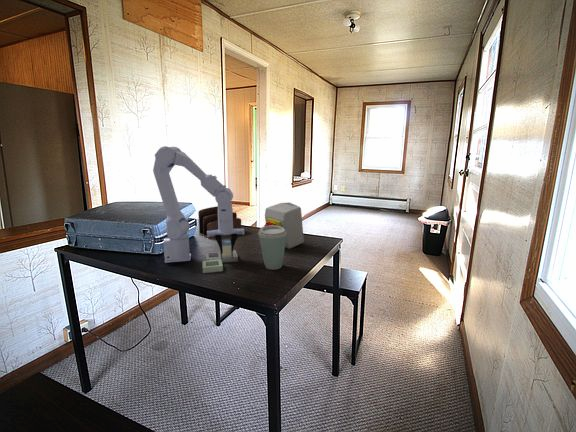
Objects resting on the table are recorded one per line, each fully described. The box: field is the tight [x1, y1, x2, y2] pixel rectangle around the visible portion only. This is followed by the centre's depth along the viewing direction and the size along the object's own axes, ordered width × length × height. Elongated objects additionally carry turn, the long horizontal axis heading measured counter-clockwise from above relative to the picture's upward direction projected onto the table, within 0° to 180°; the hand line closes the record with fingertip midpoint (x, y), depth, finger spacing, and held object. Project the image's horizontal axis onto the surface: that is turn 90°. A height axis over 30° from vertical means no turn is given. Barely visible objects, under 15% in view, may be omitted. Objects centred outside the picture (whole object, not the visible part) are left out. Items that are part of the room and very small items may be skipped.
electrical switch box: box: [263, 202, 305, 250], centre depth 137 cm, size 14×15×20 cm
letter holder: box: [197, 205, 243, 240], centre depth 156 cm, size 10×20×14 cm, turn 131°
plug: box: [222, 240, 232, 256], centre depth 119 cm, size 4×4×7 cm
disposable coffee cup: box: [257, 225, 287, 270], centre depth 111 cm, size 11×11×15 cm
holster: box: [201, 259, 224, 274], centre depth 110 cm, size 7×7×2 cm
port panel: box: [205, 249, 239, 264], centre depth 120 cm, size 12×8×2 cm, turn 106°
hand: (226, 252), depth 120 cm, fingers closed on plug, 3 cm apart
